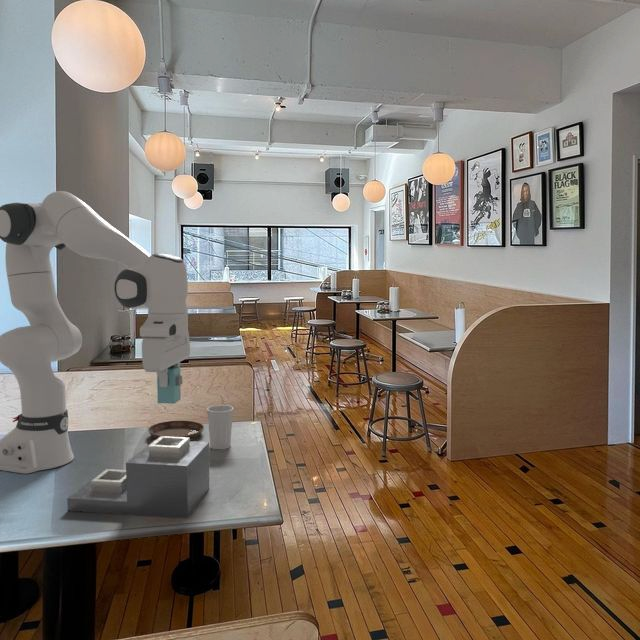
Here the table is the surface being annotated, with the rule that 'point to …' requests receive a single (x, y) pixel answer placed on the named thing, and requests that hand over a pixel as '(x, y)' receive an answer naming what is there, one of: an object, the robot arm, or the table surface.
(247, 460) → the table surface
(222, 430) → the cup
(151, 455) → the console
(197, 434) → the plant saucer
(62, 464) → the robot arm
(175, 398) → the plug
